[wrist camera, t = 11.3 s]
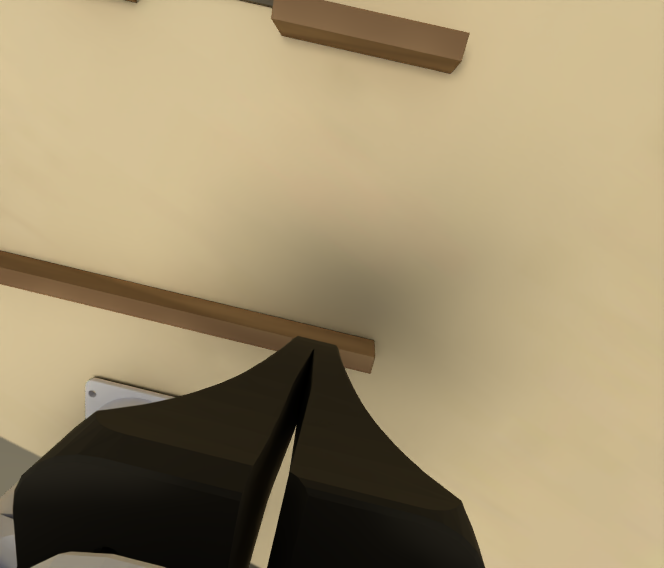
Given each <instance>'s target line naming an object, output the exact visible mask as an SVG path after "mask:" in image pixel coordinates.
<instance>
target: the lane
mask: <svg viewBox="0 0 664 568" xmlns="http://www.w3.org/2000/svg"><path fill="white" fill-rule="evenodd" d="M127 1H131V2H136V3H137V0H127ZM241 1H246V2H250V3H254V4H259V5H263V6H268V7H272V16H271V19H272V20H273V22H274V24H275V25H276V27H277V29H278V30H279V32H280V33H281V35H282V36H286V37H291V38H295V39H300V40H304V41H308V42H313V43H317V44H322V45H326V46H331V47H335V48H339V49H344V50H348V51H353V52H357V53H362V54H366V55H370V56H375V57H379V58H384V59H388V60H393V61H397V62H401V63H406V64H410V65H415V66H419V67H424V68H428V69H432V70H437V71H441V72H446V73H450V74H451V73H452V71H453V70H454V69H455V68H456V67H457V66H458V65H459V63H460V62H461V61H462V58H463V54H464V51H465V47H466V44H467V40H468V37H469V34H470V33H467V32H463V31H458V30H454V29H449V28H445V27H440V26H436V25H431V24H427V23H422V22H418V21H413V20H409V19H404V18H400V17H395V16H391V15H387V14H382V13H378V12H373V11H369V10H364V9H360V8H355V7H351V6H346V5H342V4H337V3H333V2H328V1H324V0H241ZM0 284H2V285H6V286H10V287H15V288H19V289H23V290H27V291H31V292H35V293H39V294H43V295H48V296H52V297H56V298H60V299H64V300H68V301H72V302H77V303H81V304H85V305H89V306H93V307H97V308H101V309H105V310H110V311H114V312H118V313H122V314H126V315H130V316H134V317H138V318H143V319H147V320H151V321H155V322H159V323H163V324H167V325H171V326H176V327H180V328H184V329H188V330H192V331H196V332H200V333H204V334H209V335H213V336H217V337H221V338H225V339H229V340H233V341H237V342H242V343H246V344H250V345H254V346H258V347H262V348H266V349H270V350H275V351H278V350H280V349H281V348H282V347H284V346H285V345H286V344H287V343H289V342H290V341H291V340H292V339H293V338H295V337H297V336H301V337H305V338H309V339H313V340H317V341H322V342H326V343H330V344H334V345H336V346H337V347H338V349H339V353H340V357H341V360H342V363H343V365H344V367H345V368H349V369H353V370H357V371H361V372H365V373H369V374H370V373H371V370H372V366H373V363H374V360H375V346H374V341H373V340H369V339H365V338H361V337H357V336H353V335H349V334H344V333H340V332H336V331H332V330H328V329H324V328H319V327H315V326H311V325H307V324H303V323H299V322H294V321H290V320H286V319H282V318H278V317H274V316H270V315H265V314H261V313H257V312H253V311H249V310H245V309H240V308H236V307H232V306H228V305H224V304H220V303H216V302H211V301H207V300H203V299H199V298H195V297H191V296H186V295H182V294H178V293H174V292H170V291H166V290H161V289H157V288H153V287H149V286H145V285H141V284H137V283H132V282H128V281H124V280H120V279H116V278H112V277H107V276H103V275H99V274H95V273H91V272H87V271H83V270H78V269H74V268H70V267H66V266H62V265H58V264H53V263H49V262H45V261H41V260H37V259H33V258H28V257H24V256H20V255H16V254H12V253H8V252H4V251H0Z"/></svg>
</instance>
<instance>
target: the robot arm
mask: <svg viewBox="0 0 664 568" xmlns="http://www.w3.org/2000/svg"><path fill="white" fill-rule="evenodd" d="M93 391H94V392H95V393H94V392H93ZM296 425H297V426H296ZM295 427H296V432H295V439H294V445H293V452H292V459H291V465H290V472H289V476H288V481H287V485H286V489H285V493H284V498H283V502H282V506H281V511H280V515H279V519H278V524H277V528H276V532H275V536H274V541H273V545H272V549H271V554H270V558H269V562H268V566H267V568H485V566H484V563H483V559H482V556H481V553H480V549H479V546H478V543H477V540H476V537H475V534H474V531H473V528H472V526H471V523H470V521H469V519H468V516H467V514H466V511H465V509H464V506H463V503H462V501H461V500H460V499H458V498H457V497H456V496H454V495H453V494H452V493H451V492H449V491H448V490H447V489H445V488H444V487H443V486H441V485H440V484H439V483H437V482H436V481H435V480H434V479H432V478H431V477H430V476H428V475H427V474H426V473H425V472H423V471H422V470H421V469H420V468H419V467H418V466H417V465H416V464H415V463H413V462H412V461H411V460H410V459H409V458H408V457H407V456H406V455H405V454H404V453H403V452H402V451H401V450H400V449H399V448H398V447H397V446H396V445H395V444H394V443H393V442H392V441H391V440H390V439H389V438H388V437H387V435H386V434H385V433H384V432H383V431H382V430H381V429H380V427H379V426H378V425H377V424H376V422H375V421H374V420H373V418H372V417H371V416H370V414H369V413H368V412H367V410H366V409H365V407H364V406H363V404H362V402H361V401H360V399H359V397H358V395H357V394H356V392H355V390H354V388H353V386H352V384H351V382H350V379H349V377H348V375H347V373H346V370H345V368H344V365H343V363H342V360H341V357H340V353H339V349H338V347H337V346H336V345H334V344H330V343H326V342H322V341H317V340H313V339H309V338H305V337H301V336H297V337H295V338H293V339H292V340H291V341H290V342H289V343H287V344H286V345H285V346H284V347H282V348H281V349H280V350H278V351H277V352H276V353H274V354H273V355H271V356H270V357H268V358H267V359H266V360H264V361H263V362H261V363H259V364H258V365H256V366H254V367H253V368H251V369H249V370H248V371H246V372H244V373H242V374H240V375H238V376H236V377H234V378H232V379H229V380H227V381H225V382H222V383H220V384H217V385H214V386H211V387H208V388H205V389H202V390H199V391H197V392H194V393H190V394H187V395H183V396H179V397H172V396H168V395H164V394H160V393H156V392H152V391H148V390H144V389H140V388H136V387H132V386H128V385H123V384H119V383H115V382H111V381H107V380H103V379H99V378H91V379H90V380H88V381H87V382H86V385H85V420H84V421H83V422H82V423H80V424H79V425H78V426H76V427H75V428H74V429H73V430H72V431H71V432H70V433H68V434H67V435H66V436H65V437H64V438H63V439H62V440H61V441H60V442H58V443H57V444H56V445H55V446H54V447H53V448H52V449H51V450H50V451H48V452H47V453H46V454H45V455H44V456H43V457H42V458H41V459H40V460H38V461H37V462H36V463H35V464H34V465H33V466H32V467H31V468H29V469H28V470H27V471H26V472H25V473H24V474H23V475H22V476H21V478H20V480H19V481H18V482H17V483H16V484H15V485H14V486H13V487H11V488H10V489H9V490H8V491H7V492H6V493H5V494H4V495H2V496H1V497H0V568H249V564H250V561H251V557H252V554H253V550H254V546H255V543H256V539H257V536H258V532H259V529H260V525H261V522H262V518H263V515H264V511H265V508H266V504H267V501H268V498H269V495H270V493H271V490H272V487H273V484H274V482H275V479H276V476H277V474H278V471H279V469H280V466H281V464H282V461H283V458H284V456H285V453H286V451H287V448H288V445H289V443H290V440H291V438H292V435H293V432H294V430H295Z"/></svg>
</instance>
